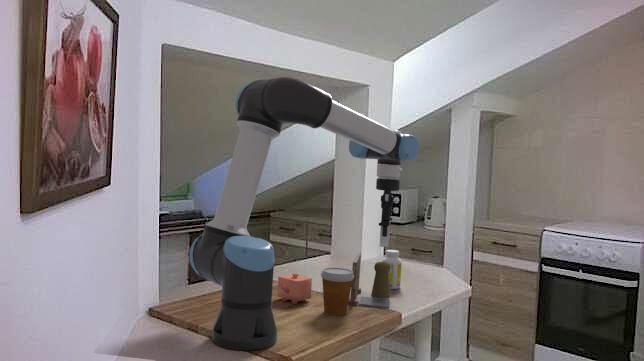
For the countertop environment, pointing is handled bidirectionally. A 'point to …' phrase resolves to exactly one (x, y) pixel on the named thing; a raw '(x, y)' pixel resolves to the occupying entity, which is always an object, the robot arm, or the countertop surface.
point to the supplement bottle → (393, 268)
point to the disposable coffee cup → (336, 290)
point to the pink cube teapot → (294, 287)
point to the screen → (355, 280)
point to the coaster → (374, 302)
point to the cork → (381, 280)
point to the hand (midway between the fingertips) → (384, 243)
